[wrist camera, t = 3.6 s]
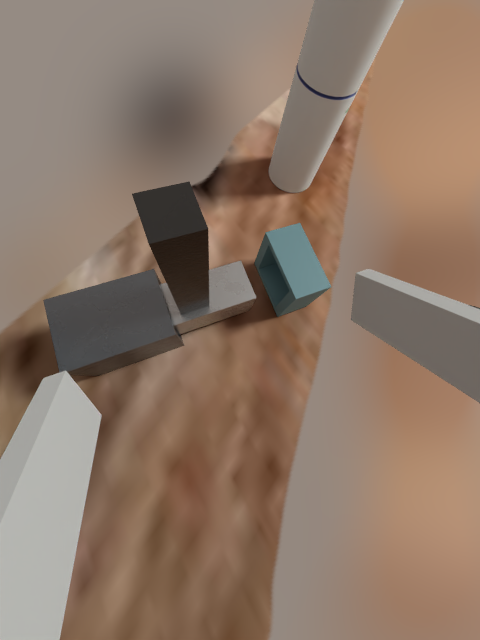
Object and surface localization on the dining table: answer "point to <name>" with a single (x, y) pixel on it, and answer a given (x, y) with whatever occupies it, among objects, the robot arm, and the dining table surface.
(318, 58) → the cylindrical container
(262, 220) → the dining table surface
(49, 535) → the robot arm
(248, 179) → the dining table surface
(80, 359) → the matte charcoal box
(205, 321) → the gray bar with post
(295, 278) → the socket block
